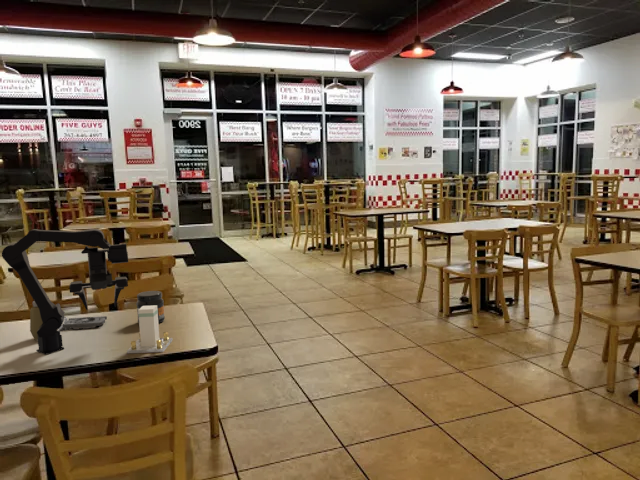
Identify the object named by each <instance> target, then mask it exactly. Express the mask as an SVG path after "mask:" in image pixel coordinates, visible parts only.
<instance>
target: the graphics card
mask: <svg viewBox="0 0 640 480" xmlns="http://www.w3.org/2000/svg"><path fill="white" fill-rule="evenodd" d="M106 320H108V319H107V316H104V315H103V316H102V315H101V316H87V317H67V316H64V321H63V323H62V325H61V327H60V328H59V329H57V331H60V332H62V331H67V330H68V331H71V329H72V330H80V329H79V328H83V329H95V328H96V327H97V326H103V324H104V323H105V322H106Z"/></svg>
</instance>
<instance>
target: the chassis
mask: <svg viewBox="0 0 640 480" xmlns="http://www.w3.org/2000/svg"><path fill="white" fill-rule="evenodd" d="M138 334H139V335H138V336H139V337H138V338H137V340H131V341H130V347H129V348H128V349H127V350H126V354H147V353H164V351H165V350H166V349H167V348H168V347H169V345H170V344H171V343H172V342H173V337H169V332H168V331H164V332H163V333H162V335H163V337H160V340H157V341H156V344H157V345H156V346H141V339H140V332H139V333H138Z"/></svg>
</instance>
